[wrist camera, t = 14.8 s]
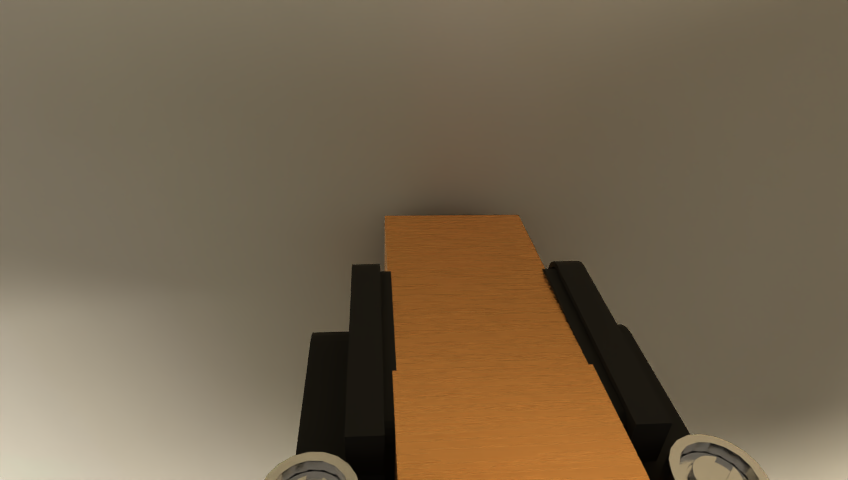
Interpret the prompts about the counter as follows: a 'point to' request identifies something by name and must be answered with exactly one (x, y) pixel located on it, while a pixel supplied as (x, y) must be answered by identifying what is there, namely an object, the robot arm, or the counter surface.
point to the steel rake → (491, 361)
